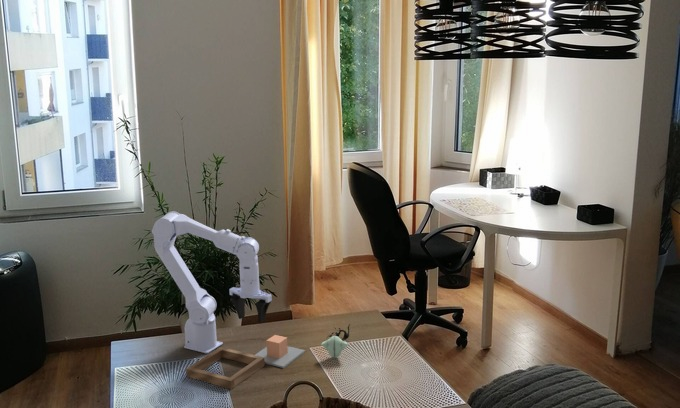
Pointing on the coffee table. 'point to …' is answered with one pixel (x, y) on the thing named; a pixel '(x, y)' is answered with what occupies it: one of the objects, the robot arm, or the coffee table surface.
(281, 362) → the tile
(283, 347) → the terracotta block
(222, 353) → the well frame
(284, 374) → the coffee table surface
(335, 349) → the pale green pointed piece
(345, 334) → the creature
